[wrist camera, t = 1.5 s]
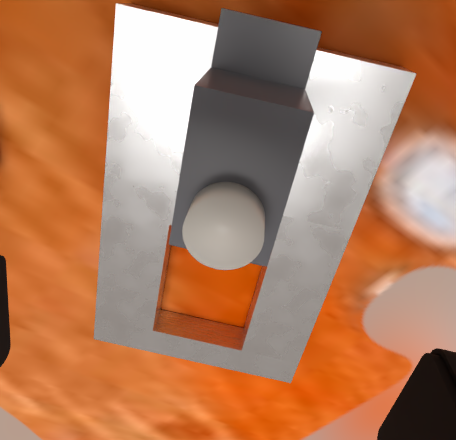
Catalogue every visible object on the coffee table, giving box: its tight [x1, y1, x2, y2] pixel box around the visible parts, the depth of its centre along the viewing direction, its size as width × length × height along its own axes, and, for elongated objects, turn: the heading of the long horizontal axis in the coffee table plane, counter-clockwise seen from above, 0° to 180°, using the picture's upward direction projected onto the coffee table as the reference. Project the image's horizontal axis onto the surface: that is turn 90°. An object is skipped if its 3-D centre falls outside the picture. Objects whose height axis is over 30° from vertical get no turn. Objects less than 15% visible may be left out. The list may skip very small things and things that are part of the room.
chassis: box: [94, 3, 416, 383], centre depth 28 cm, size 24×16×2 cm, turn 168°
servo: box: [169, 8, 322, 270], centre depth 20 cm, size 12×4×10 cm, turn 168°
